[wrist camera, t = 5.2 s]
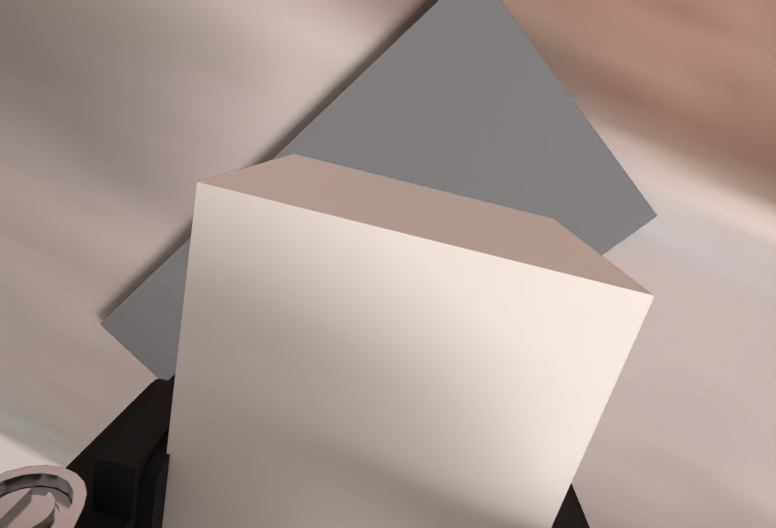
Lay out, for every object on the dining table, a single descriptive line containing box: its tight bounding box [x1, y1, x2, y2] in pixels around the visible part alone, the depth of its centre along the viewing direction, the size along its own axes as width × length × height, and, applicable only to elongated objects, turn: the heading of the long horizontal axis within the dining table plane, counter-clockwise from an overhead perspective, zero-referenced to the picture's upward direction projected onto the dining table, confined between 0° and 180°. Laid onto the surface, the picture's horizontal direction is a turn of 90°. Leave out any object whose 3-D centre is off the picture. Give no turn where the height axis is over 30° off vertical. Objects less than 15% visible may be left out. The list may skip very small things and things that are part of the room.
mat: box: [100, 0, 657, 380], centre depth 25 cm, size 14×26×1 cm, turn 131°
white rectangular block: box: [162, 154, 654, 528], centre depth 8 cm, size 5×10×4 cm, turn 167°
